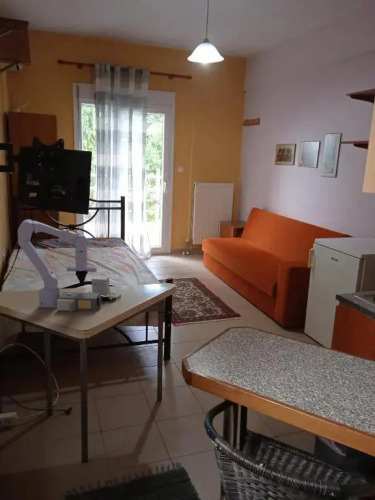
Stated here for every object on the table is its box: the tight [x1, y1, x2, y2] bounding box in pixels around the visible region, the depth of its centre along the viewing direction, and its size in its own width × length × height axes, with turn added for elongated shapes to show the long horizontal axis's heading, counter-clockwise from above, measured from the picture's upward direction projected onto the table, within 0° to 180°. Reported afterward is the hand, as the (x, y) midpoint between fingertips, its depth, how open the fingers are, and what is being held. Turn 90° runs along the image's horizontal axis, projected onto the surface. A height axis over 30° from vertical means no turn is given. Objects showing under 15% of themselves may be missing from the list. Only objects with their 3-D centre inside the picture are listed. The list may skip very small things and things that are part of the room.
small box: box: [91, 275, 111, 296], centre depth 215 cm, size 8×6×10 cm
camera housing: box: [58, 291, 102, 312], centre depth 199 cm, size 19×9×7 cm, turn 90°
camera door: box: [56, 299, 76, 312], centre depth 192 cm, size 8×4×5 cm, turn 90°
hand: (82, 285), depth 203 cm, fingers closed
